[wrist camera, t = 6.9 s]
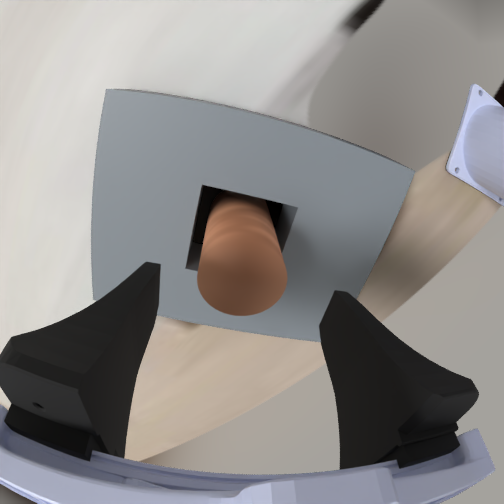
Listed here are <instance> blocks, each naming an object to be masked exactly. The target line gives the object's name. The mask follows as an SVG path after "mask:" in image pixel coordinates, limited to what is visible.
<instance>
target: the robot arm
mask: <svg viewBox="0 0 504 504" xmlns="http://www.w3.org/2000/svg"><path fill="white" fill-rule="evenodd" d="M479 92H480V95H479ZM455 168H457V169H456V171H455ZM446 170H447V172H448V173H450V174H452V175H454V176H456V177H457V178H459V179H461V180H462V181H464V182H466V183H468V184H469V185H471V186H473V187H474V188H476V189H477V190H479V191H481V192H482V193H484V194H485V195H487V196H489V197H490V198H492V199H493V200H495V201H496V202H498V203H499V204H501V205H502V206H504V107H502V106H501V105H500V104H499V103H498V102H497V101H496V100H495V99H494V98H493V97H491V96H490V95H489V94H488V93H487V92H486V91H485V90H483V89H482V88H481V87H480V86H478V85H477V84H472V85H471V86H470V90H469V94H468V98H467V102H466V106H465V109H464V113H463V116H462V120H461V123H460V127H459V129H458V132H457V136H456V139H455V142H454V145H453V148H452V151H451V154H450V156H449V159H448V162H447V165H446ZM160 272H161V264H158V263H152V262H145V263H143V264H142V265H141V266H140V267H139V268H138V269H137V270H135V271H134V272H133V273H132V274H131V275H130V276H129V277H127V278H126V279H125V280H124V281H123V282H121V283H120V284H119V285H118V286H117V287H115V288H114V289H113V290H111V291H110V292H109V293H107V294H106V295H105V296H103V297H102V298H101V299H99V300H98V301H96V302H95V303H93V304H92V305H90V306H88V307H87V308H85V309H83V310H81V311H80V312H78V313H76V314H74V315H72V316H70V317H68V318H65V319H63V320H61V321H59V322H57V323H54V324H52V325H49V326H47V327H44V328H41V329H38V330H35V331H32V332H28V333H24V334H21V335H17V336H13V337H11V339H10V340H9V341H8V343H7V344H6V346H5V348H4V349H3V351H2V353H1V354H0V387H1V388H2V390H3V391H4V393H5V394H6V396H7V397H8V399H9V400H10V402H11V403H12V404H11V406H10V408H9V411H8V410H7V409H6V408H5V407H3V406H2V405H0V484H2V485H4V486H5V487H7V488H9V489H11V490H13V491H14V492H16V493H18V494H20V495H22V496H24V497H26V498H28V499H30V500H32V501H34V502H36V503H39V504H439V503H441V502H444V501H446V500H448V499H450V498H452V497H454V496H456V495H458V494H459V493H461V492H463V491H465V490H467V489H468V488H470V487H471V486H473V485H475V484H476V483H478V482H479V481H481V480H483V479H484V478H486V477H487V476H489V475H490V474H492V473H493V472H494V471H495V467H494V464H493V462H492V460H491V457H490V455H489V452H488V451H487V448H486V446H485V443H484V441H483V439H482V436H481V435H480V432H479V430H478V429H473V430H471V431H468V432H465V433H463V434H461V435H459V436H458V437H457V436H456V434H455V431H457V430H458V426H457V423H456V422H457V421H458V420H459V419H460V418H461V417H462V416H463V415H464V414H465V413H466V412H467V411H468V410H469V409H470V408H471V407H472V406H473V405H474V404H475V402H476V401H477V399H478V396H479V392H478V390H477V388H476V387H475V385H474V383H473V381H472V380H471V379H469V378H466V377H464V376H461V375H459V374H456V373H454V372H451V371H449V370H447V369H445V368H443V367H441V366H439V365H438V364H436V363H434V362H432V361H430V360H429V359H427V358H426V357H424V356H422V355H421V354H419V353H418V352H416V351H415V350H413V349H412V348H411V347H409V346H408V345H407V344H405V343H404V342H403V341H401V340H400V339H399V338H398V337H396V336H395V335H394V334H393V333H392V332H391V331H389V330H388V329H387V328H386V327H385V326H384V325H383V324H382V323H381V322H380V321H378V320H377V319H376V318H375V317H374V316H373V315H372V314H371V313H370V312H369V311H368V310H367V309H366V308H365V307H364V306H363V305H362V304H361V303H360V302H359V301H358V300H356V299H355V298H354V297H353V296H352V295H351V294H349V293H348V292H345V291H338V290H334V293H333V295H332V297H331V300H330V302H329V304H328V306H327V309H326V311H325V313H324V315H323V318H322V320H321V322H320V324H319V331H320V339H321V345H322V349H323V353H324V357H325V360H326V364H327V367H328V371H329V374H330V378H331V381H332V385H333V389H334V393H335V397H336V398H335V399H336V406H337V412H338V423H339V436H340V470H334V471H325V472H314V473H302V474H278V475H247V474H246V475H245V474H225V473H211V472H200V471H192V470H184V469H176V468H170V467H164V466H157V465H152V464H147V463H142V462H137V461H133V460H128V459H124V456H125V445H126V436H127V429H128V422H129V415H130V409H131V403H132V398H133V392H134V387H135V382H136V378H137V374H138V370H139V367H140V364H141V361H142V358H143V355H144V353H145V350H146V347H147V344H148V341H149V339H150V336H151V333H152V330H153V327H154V324H155V320H156V316H157V311H158V307H159V294H160Z"/></svg>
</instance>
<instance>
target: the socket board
mask: <svg viewBox="0 0 504 504" xmlns="http://www.w3.org/2000/svg"><path fill="white" fill-rule="evenodd" d="M414 173H415V171H413V170H412V169H410V168H408V167H406V166H404V165H402V164H400V163H398V162H396V161H394V160H392V159H390V158H388V157H386V156H383V155H381V154H379V153H376V152H374V151H371V150H369V149H366V148H364V147H361V146H359V145H356V144H353V143H351V142H348V141H345V140H343V139H340V138H337V137H334V136H332V135H328V134H325V133H323V132H320V131H317V130H314V129H311V128H308V127H305V126H302V125H298V124H295V123H292V122H288V121H285V120H282V119H278V118H275V117H271V116H267V115H264V114H260V113H256V112H252V111H248V110H244V109H240V108H236V107H231V106H227V105H222V104H218V103H213V102H208V101H203V100H198V99H193V98H187V97H181V96H175V95H169V94H162V93H155V92H148V91H140V90H131V89H106V93H105V98H104V103H103V109H102V115H101V121H100V128H99V135H98V142H97V150H96V159H95V169H94V181H93V196H92V220H91V263H92V287H93V300H97V301H98V300H99V299H101V298H102V297H103V296H105V295H106V294H107V293H109V292H110V291H111V290H113V289H114V288H115V287H117V286H118V285H119V284H120V283H121V282H123V281H124V280H125V279H126V278H127V277H129V276H130V275H131V274H132V273H133V272H134V271H135V270H137V269H138V268H139V267H140V266H141V265H142V264H143V263H145V262H152V263H158V264H161V272H160V294H159V307H158V311H157V315H158V316H163V317H168V318H172V319H177V320H182V321H187V322H192V323H197V324H202V325H208V326H213V327H219V328H224V329H230V330H236V331H242V332H248V333H255V334H261V335H268V336H275V337H282V338H290V339H298V340H306V341H315V342H321V339H320V331H319V324H320V322H321V320H322V318H323V315H324V313H325V311H326V309H327V306H328V304H329V302H330V300H331V297H332V295H333V293H334V290H338V291H345V292H348V293H349V294H351V295H352V296H353V297H354V298H355V299H357V297H358V295H359V293H360V291H361V289H362V288H363V286H364V284H365V282H366V280H367V278H368V276H369V274H370V272H371V270H372V268H373V266H374V264H375V262H376V260H377V258H378V256H379V254H380V252H381V250H382V248H383V246H384V244H385V241H386V239H387V237H388V235H389V233H390V231H391V228H392V226H393V224H394V222H395V219H396V217H397V215H398V212H399V210H400V208H401V205H402V203H403V201H404V198H405V196H406V193H407V191H408V188H409V186H410V183H411V181H412V178H413V176H414ZM204 185H206V186H211V187H215V188H220V189H224V190H229V191H233V192H237V193H242V194H246V195H250V196H254V197H258V198H263V199H267V200H271V201H275V202H279V203H283V206H282V210H281V213H280V216H279V219H278V222H277V225H276V228H275V233H276V236H277V239H278V243H279V246H280V250H281V253H282V256H283V260H284V263H285V267H286V271H287V285H286V288H285V291H284V293H283V295H282V296H281V298H280V299H279V300H278V301H277V302H276V303H275V304H274V305H273V306H272V307H270V308H269V309H267V310H265V311H263V312H261V313H258V314H254V315H249V316H234V315H229V314H225V313H222V312H220V311H218V310H216V309H214V308H213V307H212V306H210V305H209V304H208V303H207V302H206V301H205V300H204V298H203V297H202V295H201V294H200V291H199V289H198V285H197V274H198V268H199V262H200V257H201V252H202V246H203V244H198V243H194V242H192V241H193V236H194V231H195V226H196V221H197V216H198V212H199V207H200V202H201V198H202V193H203V188H204Z"/></svg>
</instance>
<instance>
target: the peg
mask: <svg viewBox="0 0 504 504" xmlns="http://www.w3.org/2000/svg"><path fill="white" fill-rule="evenodd" d="M197 285H198V289H199V291H200V294H201V295H202V297H203V298H204V300H205V301H206V302H207V303H208V304H209V305H210V306H212V307H213V308H214V309H216V310H218V311H220V312H222V313H225V314H229V315H234V316H249V315H254V314H258V313H261V312H263V311H265V310H267V309H269V308H270V307H272V306H273V305H274V304H275V303H276V302H277V301H278V300H279V299H280V298H281V296H282V295H283V293H284V291H285V288H286V285H287V271H286V267H285V263H284V260H283V256H282V253H281V250H280V246H279V243H278V239H277V236H276V233H275V229H274V226H273V223H272V219H271V216H270V213H269V209H268V206H267V203H266V201H265V199H263V198H258V197H254V196H250V195H246V194H242V193H237V192H233V191H229V190H223V191H222V192H220V193H219V194H218V195H217V196H216V197H215V199H214V200H213V202H212V204H211V207H210V211H209V216H208V221H207V226H206V231H205V236H204V241H203V246H202V252H201V257H200V262H199V268H198V274H197Z"/></svg>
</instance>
